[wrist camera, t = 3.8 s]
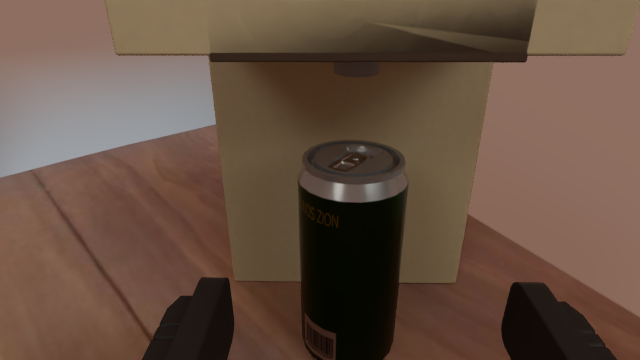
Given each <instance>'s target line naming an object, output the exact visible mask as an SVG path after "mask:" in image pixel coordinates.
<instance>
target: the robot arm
mask: <svg viewBox="0 0 640 360" xmlns="http://www.w3.org/2000/svg"><path fill="white" fill-rule="evenodd" d="M501 331H502V339H503V343H504V346H505V348H506V350H507V352H508V354H509V356H510V358H511V360H617V359H616V358H615V357H614V355H613V354H612V353H611V351H610V350H609V349H608V348H606V347H605V343H604V342H603V341H602V340H601V338H600V337H599V336H598V334H595V330H594V329H593V328H592V326H591V325H590V324H589V323H588V321H587V320H586V319H585V317H584V316H583V315H582V314H580V313H579V312H578V311H577V310H575V309H574V308H573V307H571V306H570V305H569V304H567V303H566V302H558V301H557V299H556V298H555V297H554V295H553V294H552V292H551V291H550V290H549V288H548V287H547V286H546V285H545V284H544V283H539V282H514V283H513V284H512V286H511V288H510V292H509V296H508V300H507V304H506V308H505V312H504V316H503V320H502V327H501ZM233 332H234V316H233V307H232V298H231V290H230V282H229V279H228V278H205V277H202V278H201V279H200V280H199V282H198V285H197V287H196V289H195V292H194V294H193V296H180V297H179V298H178V299H177V300H176V301H175V302H174V303H173V304H172V305H171V306H170V307H169V308H167V310H166V312H165V314H164V316H163V318H162V320H161V322H160V326H159V327H158V328H157V330H156V332H155V334H154V336H153V340H151V342H150V344H149V346H148V348H147V351H146V353H145V355H144V357H143V359H142V360H227V358H228V354H229V351H230V347H231V343H232V339H233Z"/></svg>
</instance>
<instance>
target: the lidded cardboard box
mask: <svg viewBox="0 0 640 360" xmlns="http://www.w3.org/2000/svg"><path fill="white" fill-rule="evenodd" d="M105 4H106V9H107V15H108V19H109V24H110V29H111V34H112V39H113V43H114V48H115V53H116V54H117V55H208V57H209V65H210V74H211V82H212V91H213V100H214V109H215V118H216V126H217V135H218V144H219V153H220V161H221V170H222V179H223V188H224V196H225V205H226V214H227V223H228V231H229V240H230V249H231V258H232V266H233V275H234V281H295V282H301V276H300V242H299V208H298V175H299V172H300V170H301V168H302V166H303V165H302V157H303V154H304V152H306V151H307V150H308V149H309V148H311V147H313V146H316V145H318V144H321V143H325V142H330V141H338V140H364V141H371V142H377V143H381V144H384V145H388V146H390V147H392V148H394V149H396V150H398V151H399V152H400V153H401V154H403V155H404V158H405V168H404V169H405V171H406V174H407V177H408V181H409V183H408V194H407V204H406V214H405V225H404V235H403V245H402V255H401V266H400V276H399V283H456V278H457V272H458V267H459V261H460V255H461V249H462V243H463V238H464V232H465V226H466V220H467V214H468V208H469V203H470V197H471V191H472V185H473V179H474V174H475V168H476V162H477V156H478V150H479V145H480V139H481V133H482V127H483V121H484V116H485V110H486V104H487V98H488V93H489V87H490V80H491V75H492V69H493V64H494V62H526V60H527V56H554V55H555V56H567V55H568V56H569V55H570V56H622V55H625V53H626V50H627V47H628V44H629V40H630V37H631V33H632V30H633V27H634V24H635V20H636V17H637V14H638V11H639V7H640V0H105Z"/></svg>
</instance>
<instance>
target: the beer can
mask: <svg viewBox="0 0 640 360" xmlns="http://www.w3.org/2000/svg"><path fill="white" fill-rule="evenodd" d="M302 165H303V166H302V168H301V170H300V172H299V175H298V208H299V242H300V276H301V310H302V336H303V340H304V344H305V347H306V348H307V350H308V351H309V353H310V354H311V356H312V357H313V358H314V360H383V359H384V358H385V357H386V355H387V354H388V353H389V352H390V349H391V346H392V343H393V338H394V327H395V317H396V307H397V296H398V286H399V276H400V266H401V255H402V245H403V235H404V225H405V214H406V204H407V194H408V183H409V181H408V177H407V174H406V171H405V169H404V168H405V158H404V155H403V154H401V153H400V152H399V151H398V150H396V149H394V148H392V147H390V146H388V145H384V144H381V143H377V142H371V141H364V140H338V141H330V142H325V143H321V144H318V145H316V146H313V147H311V148H309V149H308V150H307V151H306V152H304V154H303V157H302Z"/></svg>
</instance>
